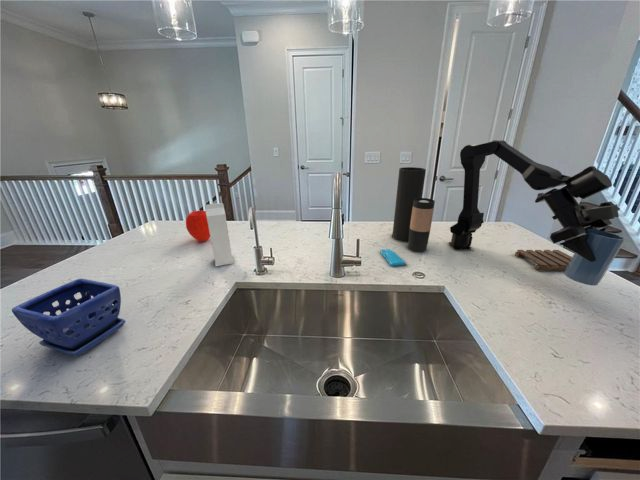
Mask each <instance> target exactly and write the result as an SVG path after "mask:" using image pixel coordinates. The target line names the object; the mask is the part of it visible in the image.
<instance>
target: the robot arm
mask: <svg viewBox="0 0 640 480" xmlns="http://www.w3.org/2000/svg"><path fill="white" fill-rule="evenodd" d="M491 155H494V156H496V157H497V158H498V159H500V160H502V161H503V162H504V163H506V164H507V165H509V166H510V167H511V168H513V169H514V170H516V171H517V172H519V173H520V175H521V177H522V178H523V180H524V182H525V183H526V184H527V185H528V186H529V187H530V188H531V189H532V190H534V191H544V190H548V191H546V192H539V193H537V195H536V196H537V197H536V198H535V200H534V203H535V204H537V203H543V202H545V204H546V205H547V206H548V208H549V209H550V211H551V212H552V214H553V216H551V218H552V219H553V221H555V220H557V221H558V223H559V224H560V226H561V227H562V228H560V229H559V230H557V231H554V232H551V233H550V235H549V240H551V242H552V244H553V245H554V244H557V243H558V244H559V246H563V247H564V248H566V249H569V250H570V251H571V252H572V251H573V252H574V253H577V254H579V255H580V256H582V257H584V258H585V259H587V260H589V261H590V262H593V261H596V258H595V256H594V254H593V252H592V250H591V248H590V246H589V244H588V242H587V239H588V237H589V234H590V233H588V234H585V232H586V230H587V229H595V230H601V231H606V232H608V230H609V229H610V225H612V224H613V223H612V221H611V220H613V219H615V218H619V217H620V216H619V215H620V214H619V211H620V210H621V207H619V206H618V204H615V203H613V201H603V202H600V204H599V205H598V206H595V207H590V208H588V206H587V205H586V204H579V202H578V200H577V199H578V198H580V199H581V200H582V199H583V200H585V199H588V198H590V197H592V196H595V195H596V194H598V193H601V192H603V191H605V190H607V189H609V188H612V186H613V183H612V180H611V178H610V177H609V176H608V174H605V173H604V172H603V171H601V170H600V169H598V168H597V167H596V166H595V165H590V166H587V167H586V168H584V169H583V170H581V171H580V172H578V173H576V174H574V175H572V176H569V175H565V174H563V173H562V172H561V171H559V170H558V169H555V168H554V167H551V166H548V165H545V164H542V163H539V162H537V161H535V160H533V159H531V158H530V157H528V156H527V155H525V154H524V153H522V152H520V151H519V150H518V149H516V148H515V147H514V146H511V145H510V144H509V143H507V142H506V141H505V140H503V139H494V140H492V141H488V142H485V143H480V144H467V145H465V146H464V147H462V149H461V150H460V152H459V158H460V164H461V166H462V168H463V170H464V175H463V176H464V179H463V181H464V182H463V199H462V209H461V211H460V213H459V215H458V217H457V221H456V223H455V224H453V225H451V226H450V227H449V231H450V233H451V234H452V235H451V240H450V241H449V242H448V244H449V245H450V246H451V247H452V248H453V249H454V250H472V247H471V246H472V241H473V234H474V233H476V231H477V230H479V229H480V228H481V227H482V225H483V224H484V217H485V216H484V215H485V213H484V212H480V210H479V194H480V193H479V191H480V177H481V174H480V173H481V168H482V167H483V165H484V163H485V161H486V158H487V157H488V156H491ZM561 186H562V187H561ZM556 187H561V188H556ZM584 234H585V235H584Z"/></svg>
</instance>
